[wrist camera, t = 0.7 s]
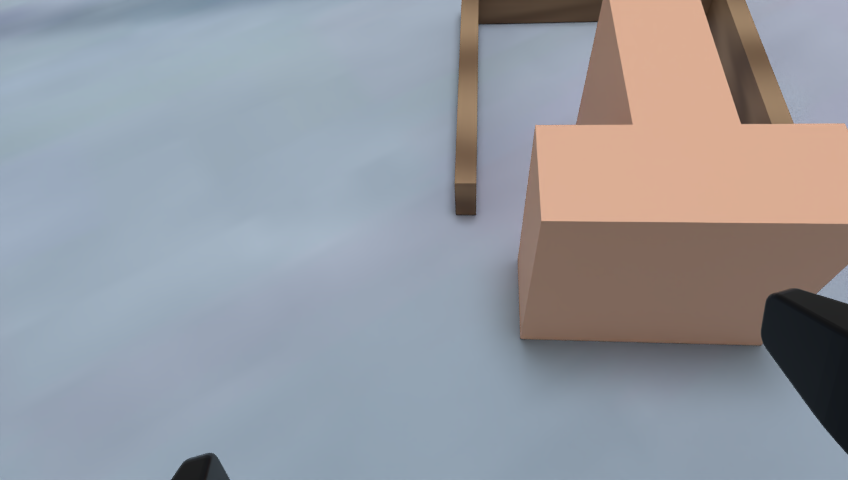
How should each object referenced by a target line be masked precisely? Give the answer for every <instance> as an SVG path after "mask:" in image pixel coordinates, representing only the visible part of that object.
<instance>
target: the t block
mask: <svg viewBox="0 0 848 480" xmlns="http://www.w3.org/2000/svg"><path fill="white" fill-rule="evenodd" d="M847 265H848V130H847V127H846V125H845V124H741V122H740V119H739V116H738V113H737V110H736V107H735V104H734V101H733V98H732V95H731V92H730V89H729V86H728V83H727V80H726V76H725V73H724V70H723V67H722V64H721V61H720V58H719V55H718V52H717V49H716V46H715V43H714V40H713V37H712V34H711V30H710V27H709V24H708V21H707V18H706V15H705V12H704V9H703V6H702V3H701V0H603V1H602V6H601V10H600V15H599V20H598V24H597V29H596V34H595V38H594V43H593V48H592V52H591V57H590V62H589V66H588V71H587V76H586V80H585V85H584V90H583V94H582V99H581V104H580V108H579V113H578V118H577V122H576V125H535V132H534V140H533V147H532V155H531V163H530V170H529V178H528V185H527V193H526V201H525V208H524V216H523V223H522V231H521V239H520V246H519V254H518V285H519V315H520V339H539V340H576V341H612V342H649V343H686V344H722V345H759V346H761V345H762V344H763V342H762V338H761V326H762V320H763V314H764V307H765V302H766V299H767V297H768V296H769V295H770V294H772V293H775V292H779V291H782V290H786V289H789V288H797V289H801V290H804V291H808V292H811V293H814V294H817V293H818V292H819V291H820V290H821V289H822V288H823V287H824V286H825V285H826V284H827V283H828V282H829V281H831V280H832V279H833V278H834V277H835V276H836V275H837V274H838V273H839V272H840V271H841V270H842V269H843V268H845V267H846V266H847Z"/></svg>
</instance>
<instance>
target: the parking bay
mask: <svg viewBox="0 0 848 480" xmlns="http://www.w3.org/2000/svg"><path fill="white" fill-rule="evenodd" d="M602 1H603V0H462V5H461V31H460V58H459V84H458V110H457V136H456V163H455V204H456V215H476V166H477V85H478V24H496V23H543V22H591V21H598V20H599V15H600V10H601V6H602ZM701 3H702V6H703V9H704V12H705V15H706V18H707V21H708V24H709V27H710V30H711V34H712V37H713V40H714V43H715V46H716V49H717V52H718V55H719V58H720V61H721V64H722V67H723V70H724V73H725V76H726V80H727V83H728V86H729V89H730V92H731V95H732V98H733V101H734V104H735V107H736V110H737V113H738V116H739V119H740V122H741V124H794V123H793V120H792V118H791V115H790V113H789V110H788V108H787V105H786V103H785V100H784V98H783V95H782V93H781V90H780V87H779V85H778V82H777V80H776V77H775V75H774V72H773V70H772V67H771V65H770V62H769V60H768V57H767V54H766V52H765V49H764V47H763V44H762V42H761V39H760V37H759V34H758V32H757V29H756V27H755V24H754V21H753V19H752V16H751V14H750V11H749V9H748V6H747V4H746V1H745V0H701Z"/></svg>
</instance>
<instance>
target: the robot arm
mask: <svg viewBox="0 0 848 480" xmlns="http://www.w3.org/2000/svg"><path fill="white" fill-rule="evenodd" d="M761 338H762V342H763V344H764V346H765V347H766V349H767V350H768V352H769V353H770V354H771V356H772V357H773V359H774V360H775V361H776V363H777V364H778V365H779V367H780V368H781V370H782V371H783V372H784V374H785V375H786V377H787V378H788V379H789V381H790V382H791V383H792V385H793V386H794V388H795V389H796V390H797V392H798V393H799V394H800V396H801V397H802V399H803V400H804V401H805V403H806V404H807V405H808V407H809V408H810V410H811V411H812V412H813V414H814V415H815V416H816V418H817V419H818V420H819V421H820V423H821V424H822V425H823V427H824V428H825V429H826V430H827V431H828V432H829V434H830V435H831V436H832V437H833V438H834V440H835V441H836V442H837V443H838V444H839V445H840V446H841V447H842V449H843V450H844V451H845V452H846V453H847V454H848V304H846V303H843V302H840V301H837V300H833V299H830V298H827V297H824V296H821V295H817V294H814V293H811V292H808V291H804V290H801V289H797V288H789V289H786V290H782V291H779V292H775V293H772V294H770V295H769V296H768V297H767V299H766V302H765V307H764V314H763V320H762V326H761ZM171 480H230V479H229V477H228V475H227V474H226V472H225V470H224V468H223V466H222V464H221V463H220V461H219V459H218V457H217V456H216V455H215V454H213V453H206V454H203V455H199V456H196V457H192V458H189V459H187V460H185V461H184V462H183V463H182V465H181V466H180V467H179V469H178V470H177V472H176V473H175V475H174V476H173V478H172V479H171Z"/></svg>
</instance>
